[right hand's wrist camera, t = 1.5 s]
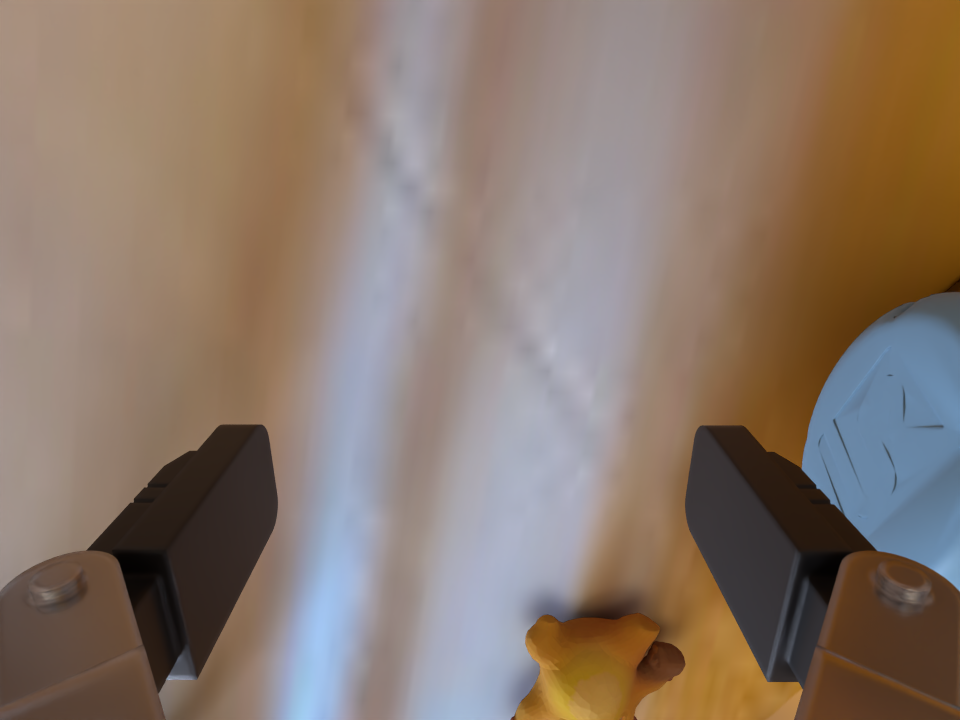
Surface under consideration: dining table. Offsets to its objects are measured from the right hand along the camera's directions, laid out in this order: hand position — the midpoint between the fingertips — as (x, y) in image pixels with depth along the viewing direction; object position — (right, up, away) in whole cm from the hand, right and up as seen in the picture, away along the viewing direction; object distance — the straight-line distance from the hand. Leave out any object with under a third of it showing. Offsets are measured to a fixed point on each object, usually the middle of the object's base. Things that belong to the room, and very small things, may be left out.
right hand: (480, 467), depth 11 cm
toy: (+8, -22, +36) cm, 43 cm away
